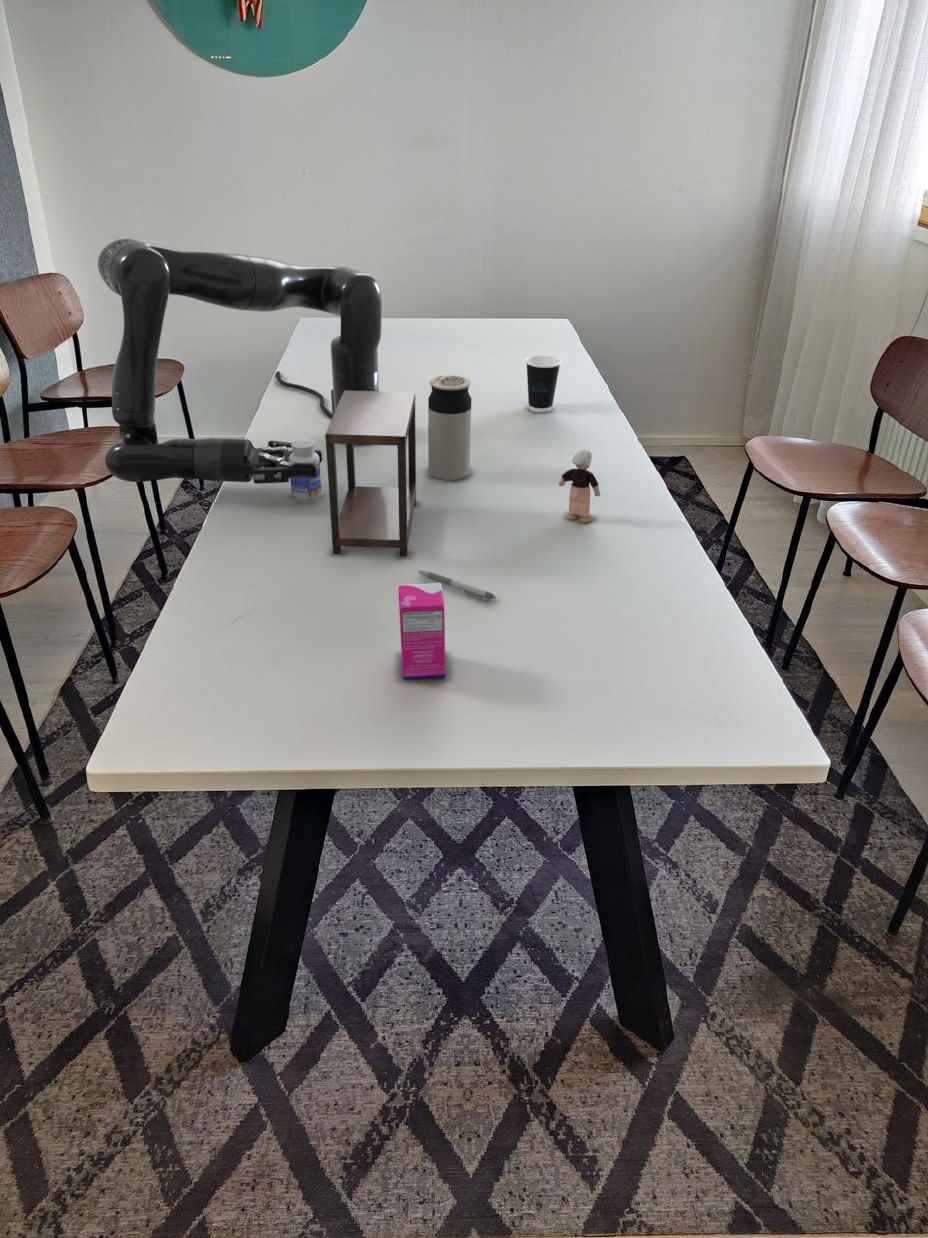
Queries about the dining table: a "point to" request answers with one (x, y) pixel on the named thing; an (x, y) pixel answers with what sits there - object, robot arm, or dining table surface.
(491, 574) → the dining table surface
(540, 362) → the dixie cup
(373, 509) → the shelf
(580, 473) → the grandmother figurine
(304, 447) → the pill bottle
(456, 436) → the travel mug
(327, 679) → the dining table surface
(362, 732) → the dining table surface
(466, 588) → the pen
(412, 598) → the supplement box
